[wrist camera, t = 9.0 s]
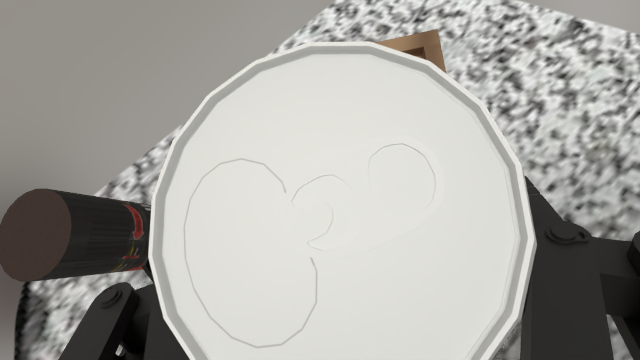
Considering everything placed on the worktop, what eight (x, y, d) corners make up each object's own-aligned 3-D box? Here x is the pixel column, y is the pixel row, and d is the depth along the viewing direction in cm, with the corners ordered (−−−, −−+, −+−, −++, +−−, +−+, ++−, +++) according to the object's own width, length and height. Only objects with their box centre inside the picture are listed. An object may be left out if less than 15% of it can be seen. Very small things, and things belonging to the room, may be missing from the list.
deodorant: (150, 261, 35) (-14, 274, 21) (161, 207, 36) (11, 184, 22) (198, 269, 34) (57, 288, 20) (208, 212, 35) (81, 192, 21)
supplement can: (335, 326, 20) (185, 551, 5) (287, 203, 22) (88, 120, 7) (463, 275, 19) (708, 375, 4) (400, 151, 21) (423, -57, 6)
